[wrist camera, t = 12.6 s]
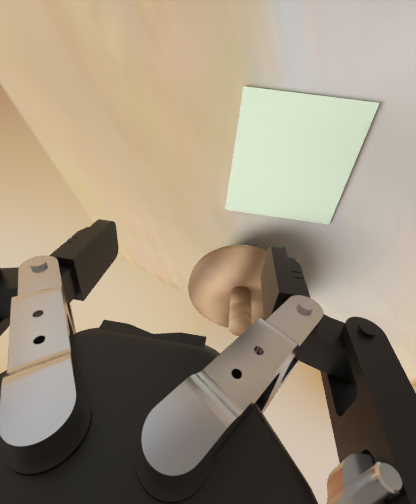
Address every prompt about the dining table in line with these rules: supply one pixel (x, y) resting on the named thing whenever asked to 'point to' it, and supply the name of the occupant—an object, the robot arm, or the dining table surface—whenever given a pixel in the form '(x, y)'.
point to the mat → (295, 153)
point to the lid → (229, 286)
